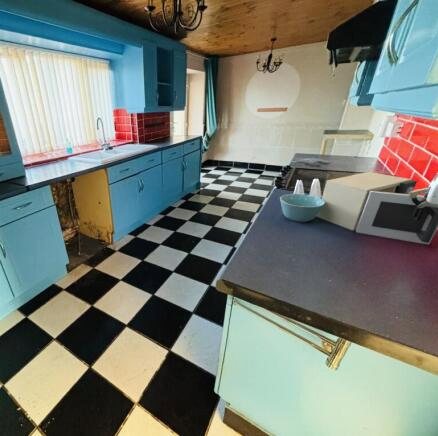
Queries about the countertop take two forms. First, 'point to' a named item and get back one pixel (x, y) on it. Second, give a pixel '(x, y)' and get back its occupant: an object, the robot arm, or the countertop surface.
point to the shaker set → (314, 190)
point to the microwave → (357, 195)
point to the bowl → (301, 206)
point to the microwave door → (397, 218)
